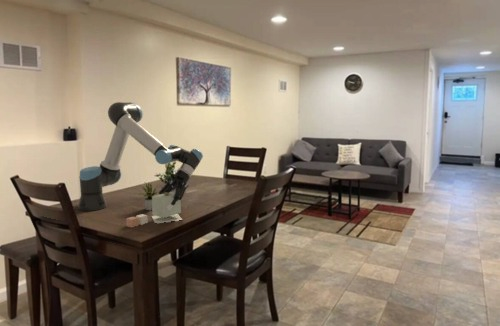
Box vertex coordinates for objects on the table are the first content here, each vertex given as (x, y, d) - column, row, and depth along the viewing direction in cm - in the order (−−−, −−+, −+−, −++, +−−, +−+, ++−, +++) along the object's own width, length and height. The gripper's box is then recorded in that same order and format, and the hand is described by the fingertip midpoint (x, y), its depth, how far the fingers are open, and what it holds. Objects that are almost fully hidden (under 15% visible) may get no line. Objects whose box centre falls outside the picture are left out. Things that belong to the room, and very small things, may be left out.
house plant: (131, 208, 211) (130, 180, 209) (152, 204, 221) (152, 178, 218) (143, 213, 201) (142, 184, 199) (165, 208, 210) (164, 181, 208)
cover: (163, 217, 184) (162, 195, 183) (152, 214, 189) (151, 193, 188) (181, 212, 194) (180, 191, 192) (170, 209, 199) (169, 189, 197)
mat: (155, 223, 183) (155, 222, 183) (151, 216, 195) (151, 215, 195) (182, 220, 189) (182, 219, 189) (177, 214, 200) (177, 213, 200)
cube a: (141, 225, 181) (140, 217, 181) (136, 223, 184) (135, 215, 183) (147, 223, 184) (147, 215, 184) (142, 221, 187) (142, 214, 186)
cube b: (131, 227, 177) (131, 219, 176) (126, 226, 179) (126, 218, 179) (138, 225, 180) (138, 217, 179) (133, 224, 182) (133, 216, 182)
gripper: (201, 180, 195) (179, 215, 184) (174, 175, 207) (153, 208, 197) (194, 171, 190) (171, 207, 179) (167, 167, 203) (144, 201, 192)
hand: (161, 208), depth 188 cm, fingers closed on cover, 8 cm apart
